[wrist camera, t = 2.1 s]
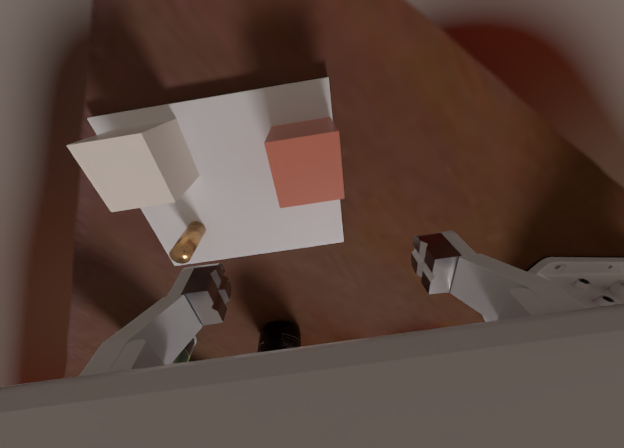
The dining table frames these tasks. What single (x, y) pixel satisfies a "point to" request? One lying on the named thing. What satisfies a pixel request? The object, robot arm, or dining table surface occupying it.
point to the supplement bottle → (279, 336)
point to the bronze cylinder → (187, 243)
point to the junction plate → (238, 172)
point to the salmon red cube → (305, 162)
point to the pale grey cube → (138, 164)
